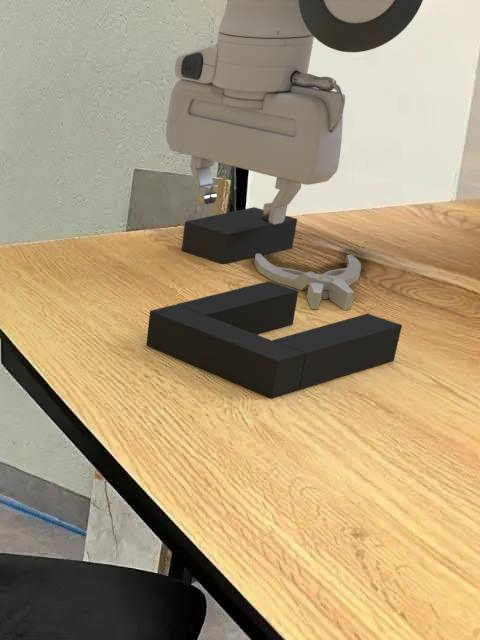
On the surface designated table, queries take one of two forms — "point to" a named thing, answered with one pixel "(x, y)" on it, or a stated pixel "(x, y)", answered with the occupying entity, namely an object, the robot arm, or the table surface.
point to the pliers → (316, 281)
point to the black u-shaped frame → (261, 353)
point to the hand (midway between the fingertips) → (237, 212)
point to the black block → (237, 235)
